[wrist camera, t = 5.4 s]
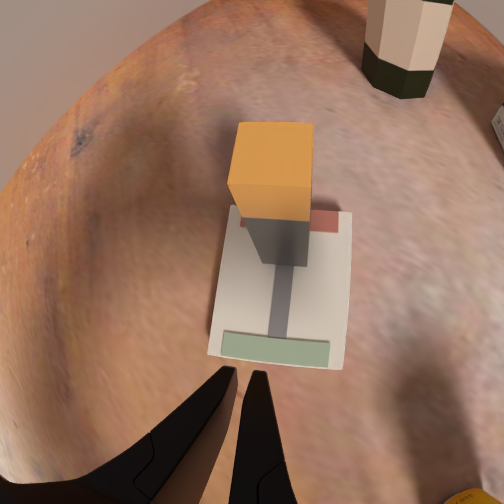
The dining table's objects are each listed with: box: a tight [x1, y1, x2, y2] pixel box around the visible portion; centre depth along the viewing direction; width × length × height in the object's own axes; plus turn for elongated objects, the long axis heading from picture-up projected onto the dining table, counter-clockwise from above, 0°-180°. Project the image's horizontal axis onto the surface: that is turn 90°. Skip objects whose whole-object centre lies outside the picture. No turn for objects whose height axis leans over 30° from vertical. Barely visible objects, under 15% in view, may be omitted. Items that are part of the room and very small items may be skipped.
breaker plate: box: [207, 205, 352, 370], centre depth 22 cm, size 11×9×2 cm
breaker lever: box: [227, 122, 313, 267], centre depth 16 cm, size 3×3×10 cm
